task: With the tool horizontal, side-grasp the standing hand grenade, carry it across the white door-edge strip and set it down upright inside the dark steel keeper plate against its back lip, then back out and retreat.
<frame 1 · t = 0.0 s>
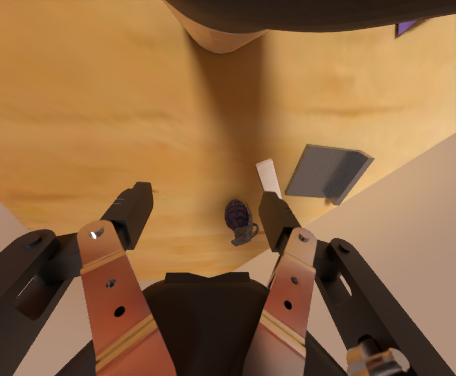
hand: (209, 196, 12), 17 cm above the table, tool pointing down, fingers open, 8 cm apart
keeper plate: (320, 173, 33), on the table
hand grenade: (236, 201, 36), on the table
door edge strip: (271, 189, 34), on the table
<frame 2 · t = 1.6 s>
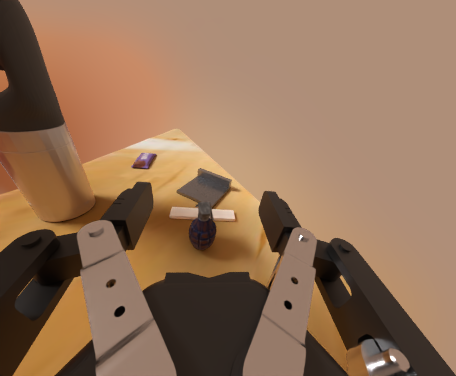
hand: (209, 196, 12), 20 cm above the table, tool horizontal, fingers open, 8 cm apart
snack package: (145, 163, 57), on the table
keeper plate: (204, 190, 47), on the table
hand grenade: (201, 244, 32), on the table
door edge strip: (203, 215, 39), on the table
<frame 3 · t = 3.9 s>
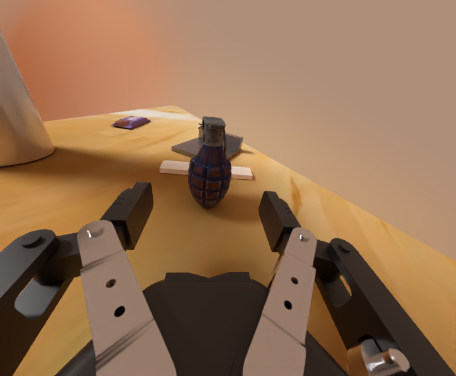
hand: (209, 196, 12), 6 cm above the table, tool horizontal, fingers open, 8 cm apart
snack package: (133, 126, 46), on the table
keeper plate: (208, 150, 36), on the table
hand grenade: (206, 202, 21), on the table
door edge strip: (207, 172, 28), on the table
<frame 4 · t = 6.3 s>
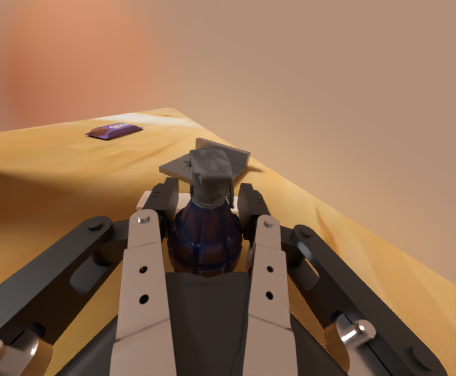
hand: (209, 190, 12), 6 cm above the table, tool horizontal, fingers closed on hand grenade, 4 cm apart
snack package: (118, 135, 38), on the table
keeper plate: (207, 169, 28), on the table
hand grenade: (203, 270, 14), on the table, touching gripper
door edge strip: (205, 206, 20), on the table
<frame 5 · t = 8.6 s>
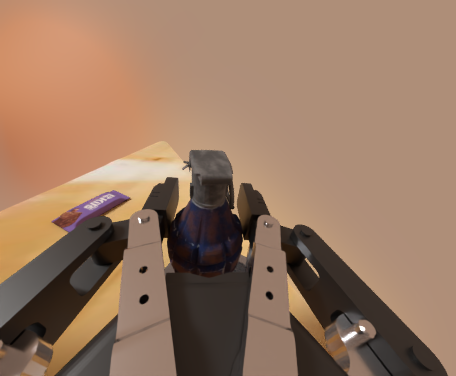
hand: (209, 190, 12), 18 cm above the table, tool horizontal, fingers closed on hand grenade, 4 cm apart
snack package: (97, 212, 33), on the table
hand grenade: (203, 270, 14), point 12 cm above the table, touching gripper
when the fingers open (8 cm above the table, at t = 11.2 s): hand grenade stays where it is, resting on keeper plate.
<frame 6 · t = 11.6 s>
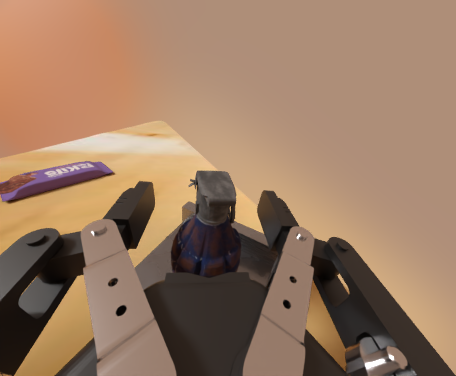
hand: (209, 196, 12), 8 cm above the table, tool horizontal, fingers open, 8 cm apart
snack package: (65, 183, 24), on the table
keeper plate: (201, 282, 15), on the table
hand grenade: (201, 280, 14), point 1 cm above the table, touching keeper plate
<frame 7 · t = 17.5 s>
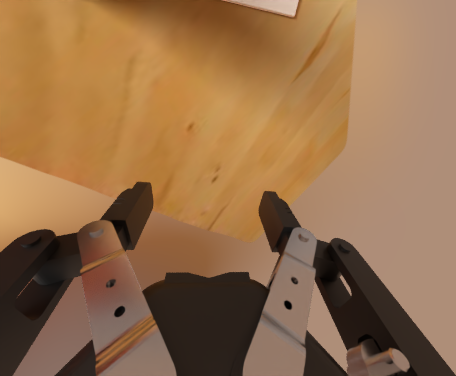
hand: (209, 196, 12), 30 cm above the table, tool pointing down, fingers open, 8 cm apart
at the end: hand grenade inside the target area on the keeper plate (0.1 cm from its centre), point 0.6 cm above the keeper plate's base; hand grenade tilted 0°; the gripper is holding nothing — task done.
